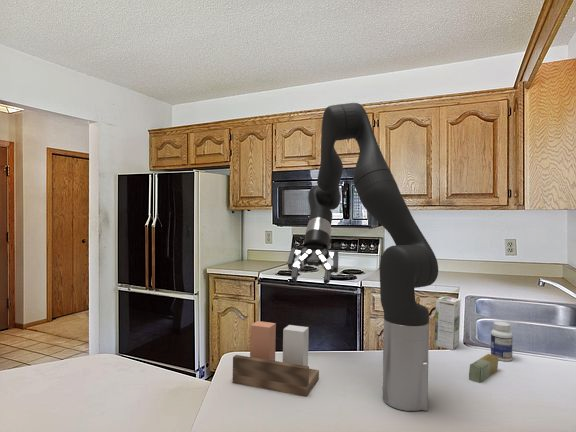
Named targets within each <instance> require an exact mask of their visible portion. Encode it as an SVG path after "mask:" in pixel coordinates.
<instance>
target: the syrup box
mask: <svg viewBox="0 0 576 432" xmlns="http://www.w3.org/2000/svg"><path fill="white" fill-rule="evenodd" d="M460 323H461V299H459V298H456V297H451V296H441V297H439V298H438V297H437V299H435V314H434V342H433V345H434V347H438V348H444V349H448V350H452V351H453V350H455V349H456V348H457V347H459V345H460V325H461V324H460Z"/></svg>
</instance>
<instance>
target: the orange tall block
mask: <svg viewBox="0 0 576 432" xmlns="http://www.w3.org/2000/svg"><path fill="white" fill-rule="evenodd" d="M276 329H277V323H276V322H275V323H274V322H270V321H269V322H267V321H260V320H256V321H255V322H253V323H252V324H250V336H249V337H250V339H249V342H250V343H249V357H253V358H260V359H266V360H272V361H276V344H277V343H276V341H277V340H276V338H277V337H276V335H277V333H276Z"/></svg>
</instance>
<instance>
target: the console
mask: <svg viewBox="0 0 576 432" xmlns="http://www.w3.org/2000/svg"><path fill="white" fill-rule="evenodd" d="M319 378H320V370H319V369H314V368H310V366H309V365H308V366H304V365H298V364H291V363H285V362H283V361H277V360H275V361H272V360H266V359H260V358H253V357H250V356H245V355H241V354H240V355H239V354H235V355H234V356H232V381H231V383H233V384H238V385H243V386H248V387H254V388H259V389H264V390H271V391H276V392H280V393H284V394H285V393H286V394H290V395H297V396H302V397H308V396H309V393H310V392H311V391H312V390H313V388H314V386H315V385H316V384H317V382H318V380H319Z"/></svg>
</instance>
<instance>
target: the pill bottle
mask: <svg viewBox="0 0 576 432" xmlns="http://www.w3.org/2000/svg"><path fill="white" fill-rule="evenodd" d="M493 328H494V329H491V332H490V354H491V355H494V356H497V357H498V361H502V362H510V361H512V360H513V352H514V351H513V350H514V349H513V347H514V346H513V342H514V335H513V332H511V331H510V330H511V324H510V323H509V322H508V323H507V322H505V321H494V323H493Z"/></svg>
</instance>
